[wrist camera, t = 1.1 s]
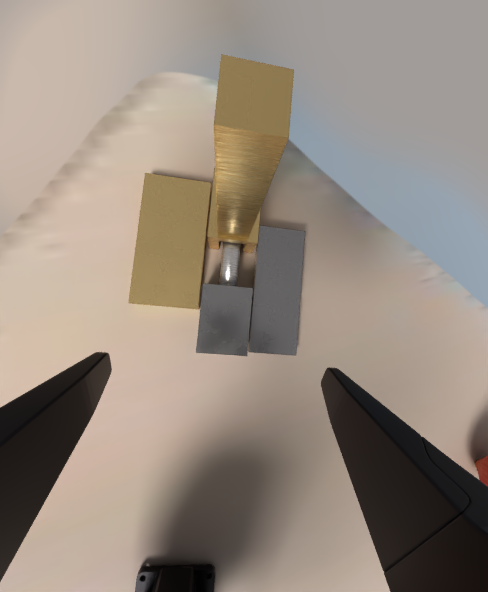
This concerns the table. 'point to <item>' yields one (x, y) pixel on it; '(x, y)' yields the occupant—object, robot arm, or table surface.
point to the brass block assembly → (214, 187)
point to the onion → (483, 469)
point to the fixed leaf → (255, 299)
